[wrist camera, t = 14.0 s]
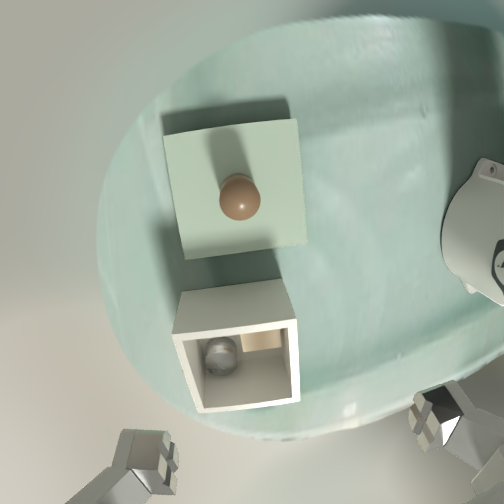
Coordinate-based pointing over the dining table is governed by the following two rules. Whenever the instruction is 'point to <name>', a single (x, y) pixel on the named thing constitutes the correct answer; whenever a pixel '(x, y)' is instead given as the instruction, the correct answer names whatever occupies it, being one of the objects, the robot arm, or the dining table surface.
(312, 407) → the dining table surface
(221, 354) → the metal ball
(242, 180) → the lid
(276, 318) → the tub
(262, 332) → the birch block
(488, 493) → the robot arm
